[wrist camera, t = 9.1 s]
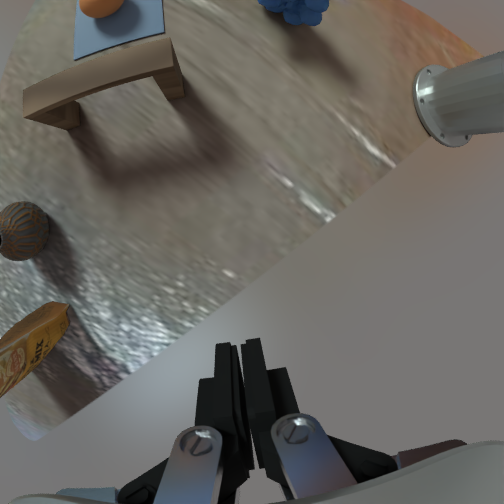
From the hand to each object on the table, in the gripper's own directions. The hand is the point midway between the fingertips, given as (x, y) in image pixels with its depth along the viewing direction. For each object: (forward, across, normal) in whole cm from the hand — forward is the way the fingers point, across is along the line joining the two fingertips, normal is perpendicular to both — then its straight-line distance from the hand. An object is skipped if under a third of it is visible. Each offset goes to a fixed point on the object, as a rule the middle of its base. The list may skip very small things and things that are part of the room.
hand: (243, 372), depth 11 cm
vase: (+23, +25, -6) cm, 35 cm away
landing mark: (+24, +11, -32) cm, 42 cm away
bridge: (+24, +11, -18) cm, 32 cm away
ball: (+21, +12, -33) cm, 41 cm away
